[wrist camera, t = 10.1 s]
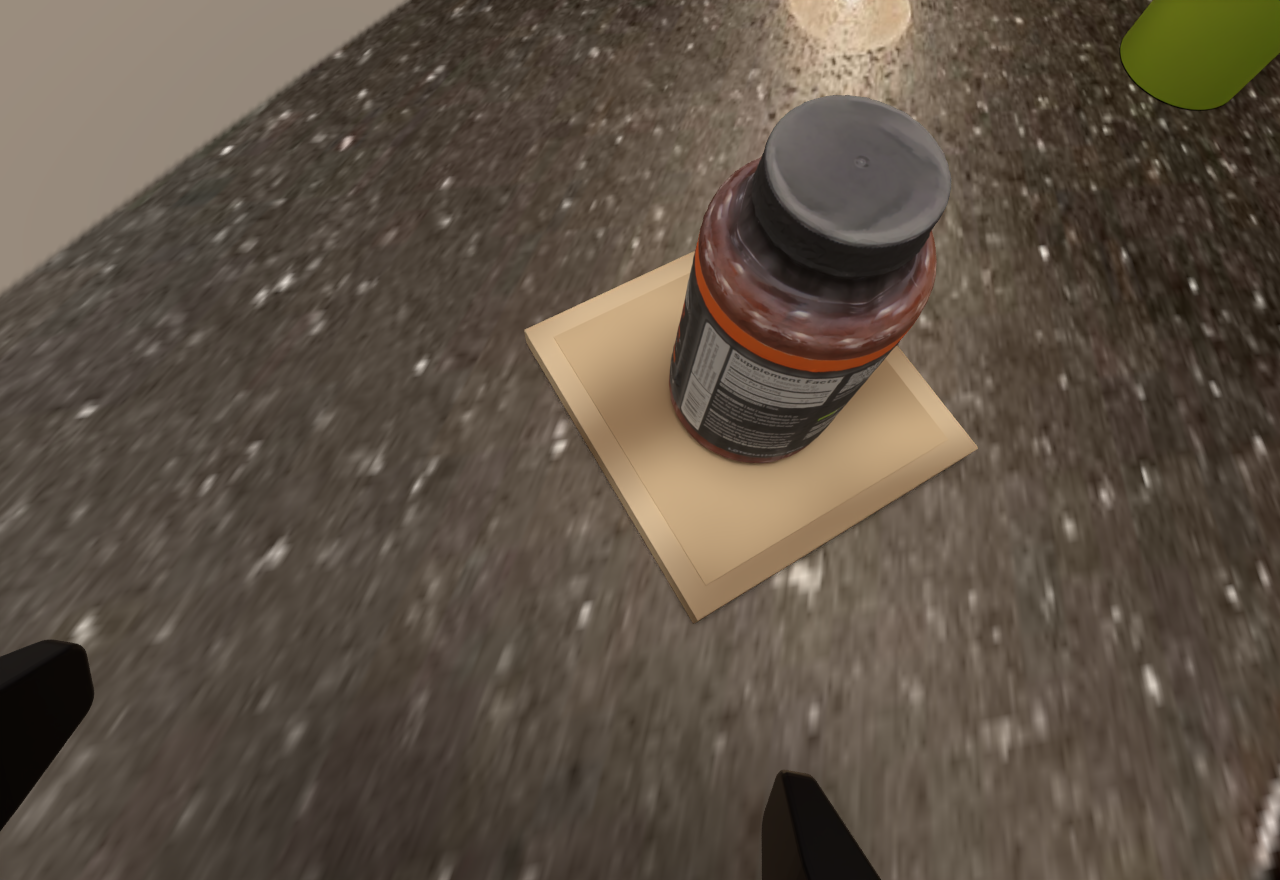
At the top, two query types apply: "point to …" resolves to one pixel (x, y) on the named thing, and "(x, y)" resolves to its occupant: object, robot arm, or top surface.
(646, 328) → the coaster
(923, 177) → the supplement bottle
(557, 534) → the top surface
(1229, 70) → the soap dispenser
